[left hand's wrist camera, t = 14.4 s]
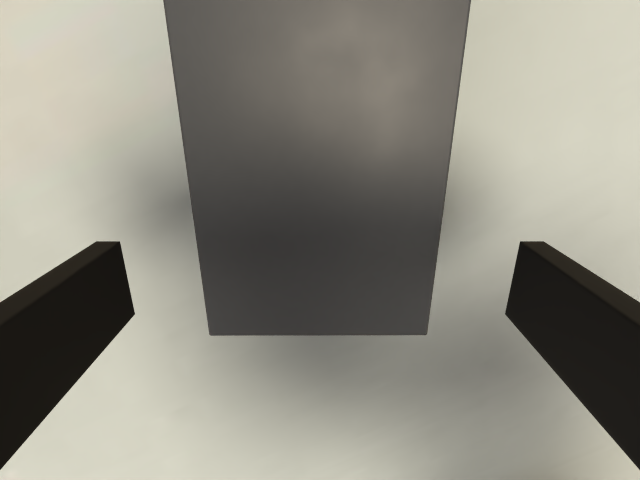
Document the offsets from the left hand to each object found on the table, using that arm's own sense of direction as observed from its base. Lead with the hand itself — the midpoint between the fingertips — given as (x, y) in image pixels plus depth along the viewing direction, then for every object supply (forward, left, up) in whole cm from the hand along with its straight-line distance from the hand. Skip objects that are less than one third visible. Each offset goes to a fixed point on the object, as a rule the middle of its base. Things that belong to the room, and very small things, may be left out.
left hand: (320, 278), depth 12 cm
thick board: (+29, +13, -10) cm, 33 cm away
